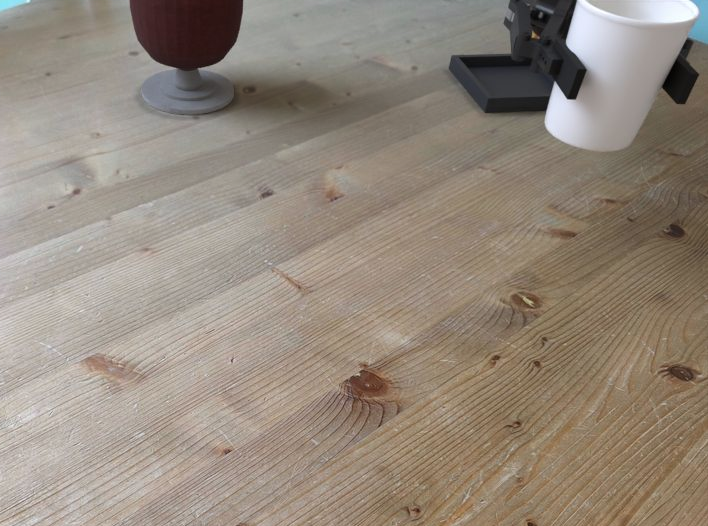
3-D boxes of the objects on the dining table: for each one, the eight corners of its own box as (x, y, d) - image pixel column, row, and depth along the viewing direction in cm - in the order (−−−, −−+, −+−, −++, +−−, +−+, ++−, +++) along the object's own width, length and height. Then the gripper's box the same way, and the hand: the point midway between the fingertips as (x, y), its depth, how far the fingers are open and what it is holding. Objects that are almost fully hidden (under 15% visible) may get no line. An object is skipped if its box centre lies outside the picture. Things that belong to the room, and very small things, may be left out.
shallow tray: (535, 66, 110) (539, 52, 109) (579, 108, 101) (584, 94, 100) (448, 68, 109) (451, 55, 107) (484, 112, 99) (488, 98, 98)
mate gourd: (120, 80, 102) (107, -85, 88) (212, 64, 106) (214, -95, 92) (164, 131, 92) (158, -45, 78) (264, 111, 97) (274, -59, 83)
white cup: (530, 143, 70) (575, 10, 61) (540, 99, 76) (581, -26, 68) (641, 166, 68) (704, 31, 59) (641, 119, 74) (697, -8, 66)
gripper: (640, 33, 83) (734, 132, 67) (447, 24, 83) (495, 122, 67) (670, -40, 78) (780, 48, 62) (464, -49, 77) (520, 37, 61)
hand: (632, 87), depth 64 cm, fingers closed on white cup, 9 cm apart
